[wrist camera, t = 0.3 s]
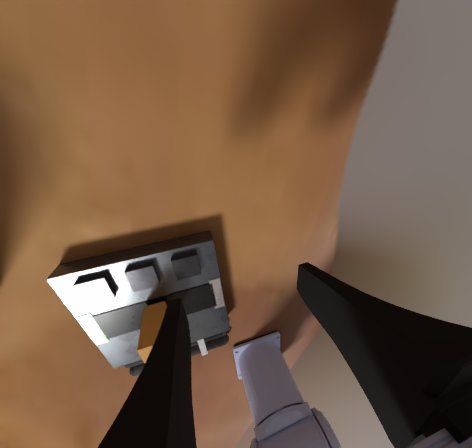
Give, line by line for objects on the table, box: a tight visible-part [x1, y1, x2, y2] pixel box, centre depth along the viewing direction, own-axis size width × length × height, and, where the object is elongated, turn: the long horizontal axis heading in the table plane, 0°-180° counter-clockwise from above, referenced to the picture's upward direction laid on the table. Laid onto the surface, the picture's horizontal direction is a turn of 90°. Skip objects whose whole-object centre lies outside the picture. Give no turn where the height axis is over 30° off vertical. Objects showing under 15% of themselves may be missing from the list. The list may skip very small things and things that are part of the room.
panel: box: [46, 231, 230, 369], centre depth 21 cm, size 14×14×3 cm
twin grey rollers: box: [124, 331, 229, 376], centre depth 26 cm, size 4×13×2 cm, turn 95°
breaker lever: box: [137, 301, 167, 363], centre depth 18 cm, size 3×2×4 cm, turn 5°
